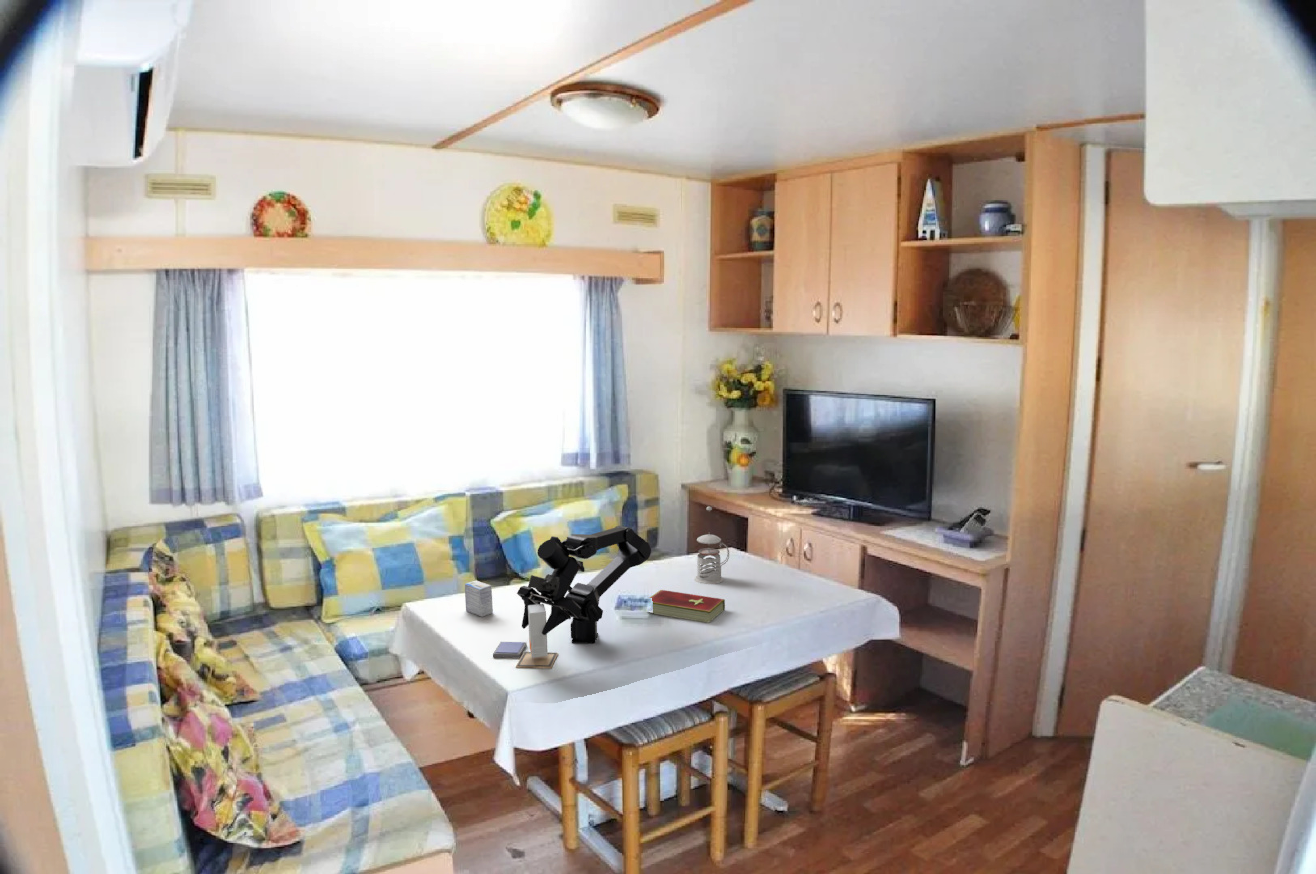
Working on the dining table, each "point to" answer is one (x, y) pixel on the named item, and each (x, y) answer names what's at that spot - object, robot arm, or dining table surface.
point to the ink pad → (510, 649)
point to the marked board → (536, 661)
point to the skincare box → (537, 630)
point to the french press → (709, 560)
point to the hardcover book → (687, 605)
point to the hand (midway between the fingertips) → (532, 631)
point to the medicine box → (478, 598)
